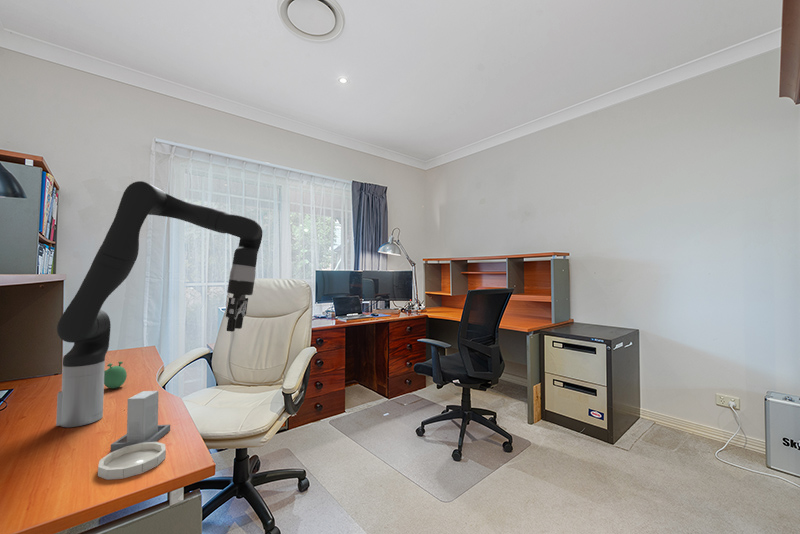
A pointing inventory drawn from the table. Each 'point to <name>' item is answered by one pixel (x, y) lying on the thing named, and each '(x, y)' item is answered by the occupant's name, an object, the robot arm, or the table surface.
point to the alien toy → (114, 376)
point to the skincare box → (142, 416)
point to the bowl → (131, 460)
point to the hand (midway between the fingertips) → (234, 329)
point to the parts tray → (123, 441)
